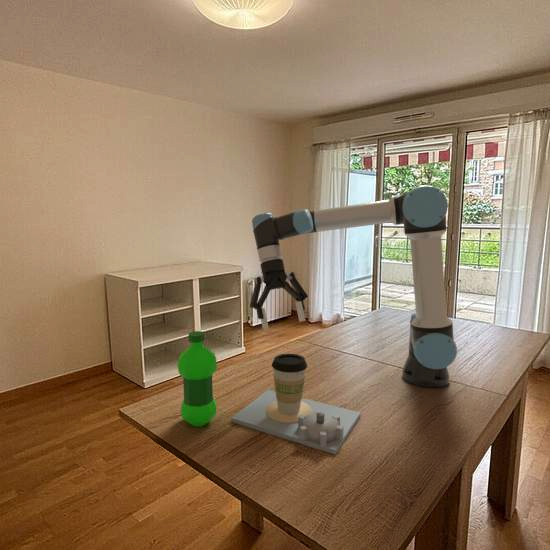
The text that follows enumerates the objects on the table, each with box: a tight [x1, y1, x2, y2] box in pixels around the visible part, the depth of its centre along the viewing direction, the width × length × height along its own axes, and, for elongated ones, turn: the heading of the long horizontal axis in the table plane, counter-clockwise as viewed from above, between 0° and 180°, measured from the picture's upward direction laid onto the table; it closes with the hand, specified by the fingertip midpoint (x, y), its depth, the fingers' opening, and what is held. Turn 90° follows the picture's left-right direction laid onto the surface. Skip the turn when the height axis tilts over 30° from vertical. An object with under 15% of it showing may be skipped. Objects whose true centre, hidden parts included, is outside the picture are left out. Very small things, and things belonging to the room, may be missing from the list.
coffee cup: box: [271, 353, 308, 415], centre depth 108 cm, size 10×10×15 cm
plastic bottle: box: [177, 330, 218, 427], centre depth 104 cm, size 10×10×25 cm
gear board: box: [231, 389, 362, 455], centre depth 107 cm, size 30×20×6 cm
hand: (284, 325), depth 124 cm, fingers open, 13 cm apart
